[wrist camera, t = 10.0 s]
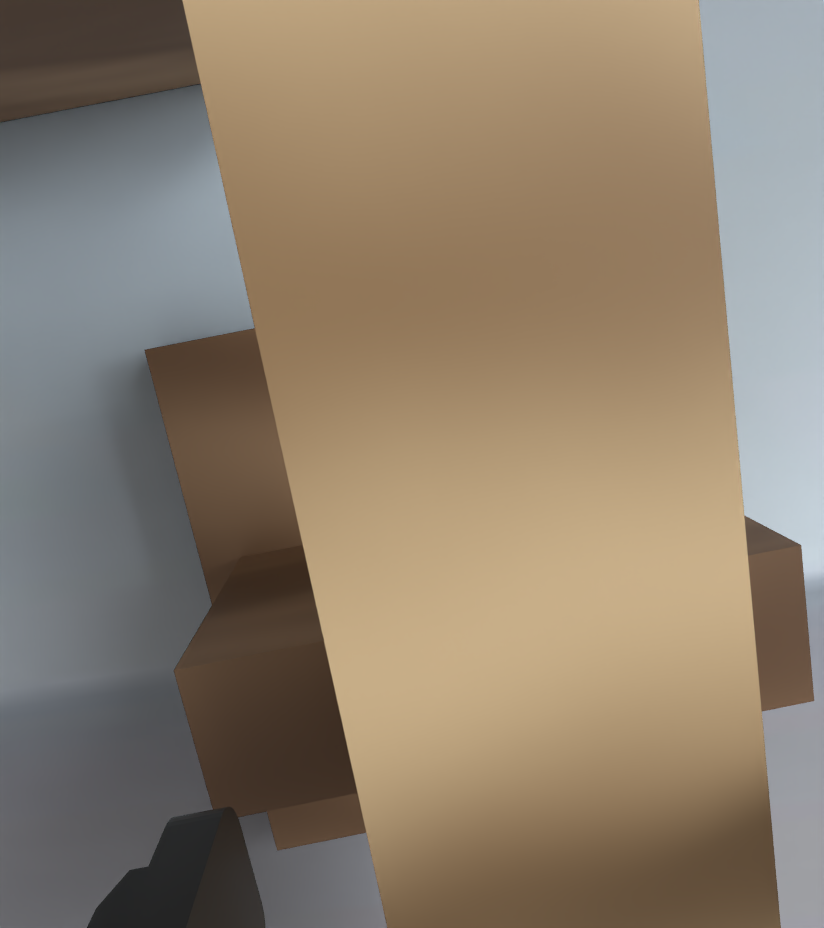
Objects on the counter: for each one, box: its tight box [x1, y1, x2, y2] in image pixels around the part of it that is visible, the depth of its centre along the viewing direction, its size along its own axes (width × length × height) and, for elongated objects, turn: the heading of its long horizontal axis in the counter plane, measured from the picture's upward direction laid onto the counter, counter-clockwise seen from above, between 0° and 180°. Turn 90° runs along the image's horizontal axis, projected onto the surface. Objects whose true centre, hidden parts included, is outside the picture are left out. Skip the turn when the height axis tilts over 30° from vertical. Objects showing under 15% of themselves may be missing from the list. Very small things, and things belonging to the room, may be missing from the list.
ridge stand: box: [145, 328, 814, 851], centre depth 16 cm, size 14×13×7 cm
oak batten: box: [182, 0, 781, 928], centre depth 10 cm, size 20×4×4 cm, turn 10°
